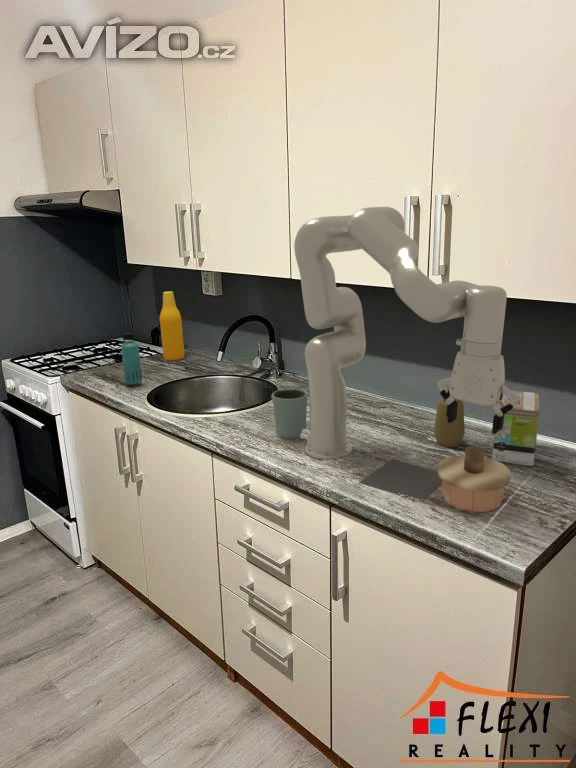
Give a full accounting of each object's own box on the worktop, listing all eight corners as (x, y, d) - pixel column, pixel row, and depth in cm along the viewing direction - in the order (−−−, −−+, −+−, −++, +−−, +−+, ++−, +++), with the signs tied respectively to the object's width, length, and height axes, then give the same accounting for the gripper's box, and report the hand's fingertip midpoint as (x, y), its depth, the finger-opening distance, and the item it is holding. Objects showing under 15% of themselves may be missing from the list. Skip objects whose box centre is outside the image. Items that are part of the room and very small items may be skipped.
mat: (358, 484, 137) (358, 482, 137) (392, 460, 149) (392, 459, 149) (421, 503, 127) (421, 501, 127) (452, 476, 139) (452, 475, 139)
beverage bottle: (132, 389, 216) (126, 335, 210) (121, 386, 220) (115, 333, 214) (146, 384, 221) (141, 332, 215) (135, 381, 225) (129, 330, 219)
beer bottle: (163, 356, 262) (157, 291, 253) (184, 354, 263) (179, 290, 254) (163, 361, 253) (156, 294, 244) (184, 359, 254) (179, 293, 246)
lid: (425, 478, 126) (426, 454, 124) (454, 454, 137) (455, 432, 135) (495, 497, 117) (497, 471, 115) (519, 470, 128) (522, 446, 126)
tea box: (534, 467, 143) (540, 410, 139) (491, 462, 147) (495, 406, 142) (534, 444, 156) (539, 391, 152) (494, 440, 160) (498, 388, 156)
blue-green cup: (296, 441, 163) (295, 401, 159) (266, 435, 168) (264, 395, 165) (314, 429, 171) (313, 390, 168) (285, 424, 176) (283, 386, 173)
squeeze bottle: (427, 444, 158) (429, 380, 153) (443, 436, 164) (446, 374, 158) (454, 452, 153) (457, 386, 147) (469, 443, 158) (473, 379, 153)
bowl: (434, 502, 128) (435, 477, 126) (456, 482, 137) (458, 458, 135) (488, 519, 120) (490, 492, 119) (508, 496, 129) (511, 471, 128)
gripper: (433, 345, 121) (427, 422, 126) (518, 359, 111) (508, 442, 116) (448, 338, 127) (442, 412, 132) (531, 350, 116) (520, 430, 122)
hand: (473, 426), depth 124 cm, fingers open, 9 cm apart
